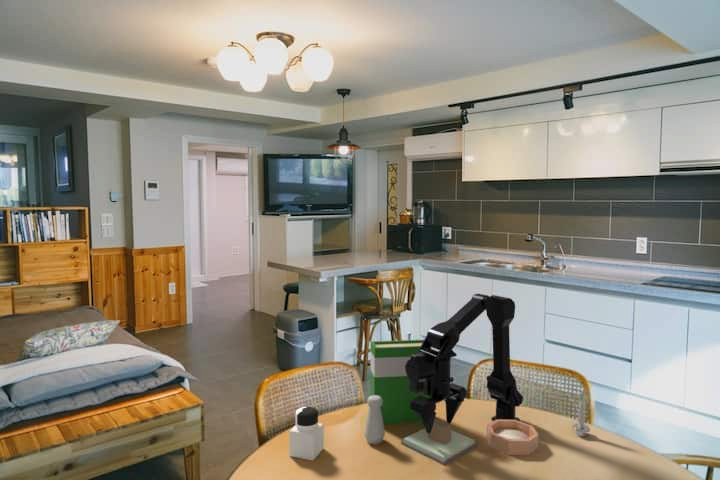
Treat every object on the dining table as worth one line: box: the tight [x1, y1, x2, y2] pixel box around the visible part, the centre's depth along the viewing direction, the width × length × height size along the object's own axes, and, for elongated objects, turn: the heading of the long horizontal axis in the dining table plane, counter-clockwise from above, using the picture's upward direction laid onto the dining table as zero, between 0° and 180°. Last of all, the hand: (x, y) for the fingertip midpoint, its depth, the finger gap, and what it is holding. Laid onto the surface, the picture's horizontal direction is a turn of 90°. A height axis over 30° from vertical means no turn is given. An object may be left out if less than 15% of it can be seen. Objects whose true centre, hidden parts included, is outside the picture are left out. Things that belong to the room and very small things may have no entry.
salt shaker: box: [363, 395, 386, 446], centre depth 138 cm, size 6×6×13 cm
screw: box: [571, 391, 591, 438], centre depth 142 cm, size 13×5×5 cm
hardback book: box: [369, 339, 432, 426], centre depth 152 cm, size 18×7×24 cm, turn 98°
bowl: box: [486, 419, 540, 456], centre depth 137 cm, size 13×13×4 cm
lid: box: [403, 416, 476, 461], centre depth 136 cm, size 14×14×6 cm
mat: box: [400, 439, 478, 466], centre depth 136 cm, size 15×15×1 cm
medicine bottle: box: [288, 406, 325, 462], centre depth 131 cm, size 7×7×12 cm
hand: (438, 427), depth 136 cm, fingers open, 9 cm apart
